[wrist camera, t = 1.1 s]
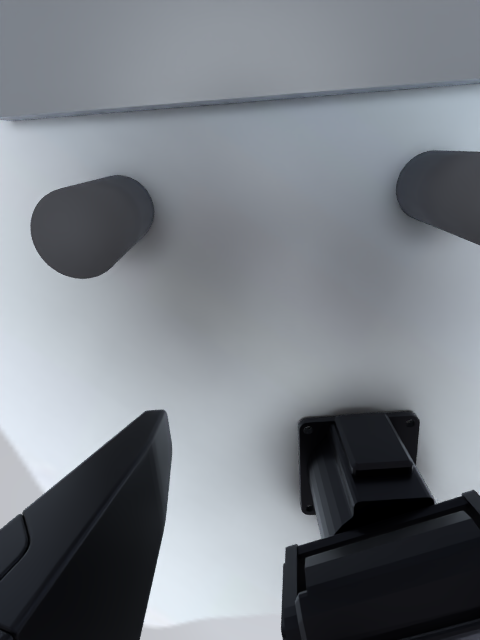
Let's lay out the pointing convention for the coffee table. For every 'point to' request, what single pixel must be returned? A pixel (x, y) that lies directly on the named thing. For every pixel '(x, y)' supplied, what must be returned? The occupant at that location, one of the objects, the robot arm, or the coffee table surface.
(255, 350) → the coffee table surface
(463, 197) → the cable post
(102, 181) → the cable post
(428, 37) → the breaker panel
